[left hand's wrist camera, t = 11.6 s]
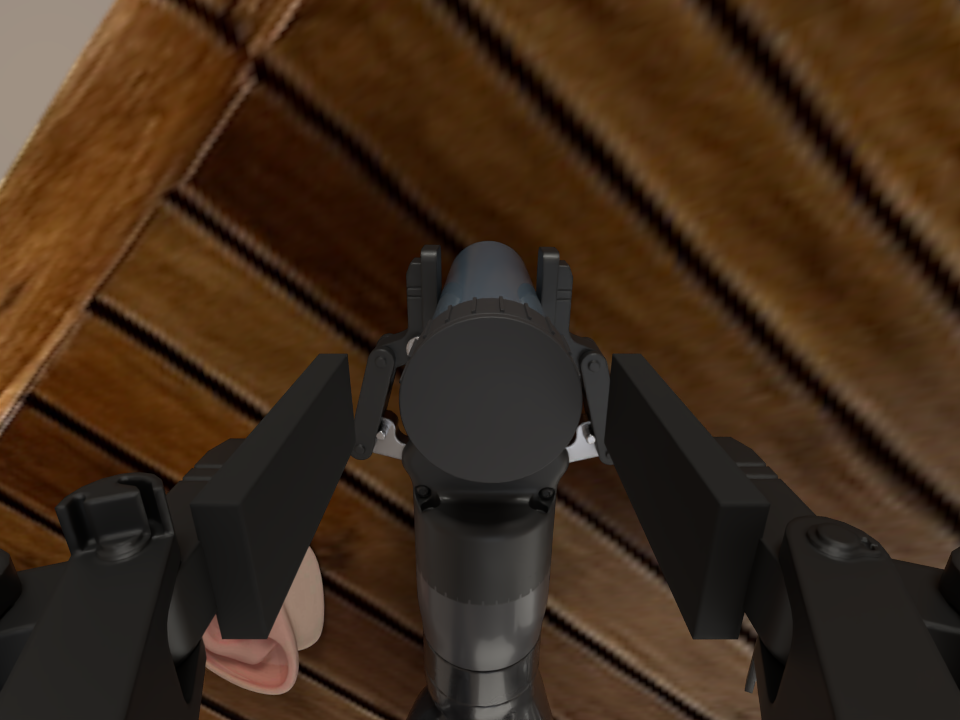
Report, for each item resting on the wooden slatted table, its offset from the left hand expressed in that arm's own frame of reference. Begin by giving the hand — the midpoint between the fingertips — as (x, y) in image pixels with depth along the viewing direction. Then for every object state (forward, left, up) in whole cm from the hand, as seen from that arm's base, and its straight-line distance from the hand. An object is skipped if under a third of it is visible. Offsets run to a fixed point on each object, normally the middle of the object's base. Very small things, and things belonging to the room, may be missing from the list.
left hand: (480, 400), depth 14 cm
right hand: (+1, -2, -10) cm, 10 cm away
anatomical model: (-1, +28, -16) cm, 32 cm away
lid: (0, 0, 0) cm, 0 cm away
